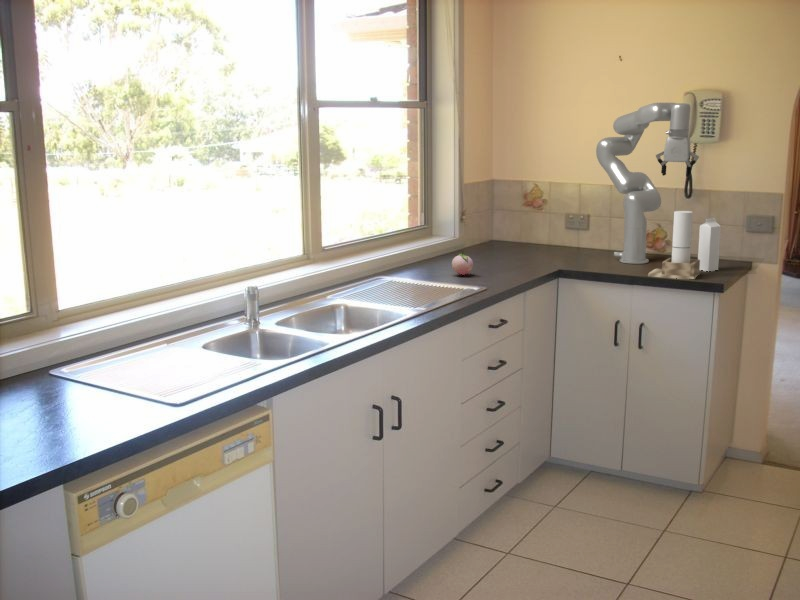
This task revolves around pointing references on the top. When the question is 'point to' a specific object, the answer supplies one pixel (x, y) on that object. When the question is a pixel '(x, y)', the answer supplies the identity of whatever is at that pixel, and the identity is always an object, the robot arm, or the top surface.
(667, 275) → the board
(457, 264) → the decorative fruit
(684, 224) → the cylindrical container
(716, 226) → the milk
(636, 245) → the robot arm
